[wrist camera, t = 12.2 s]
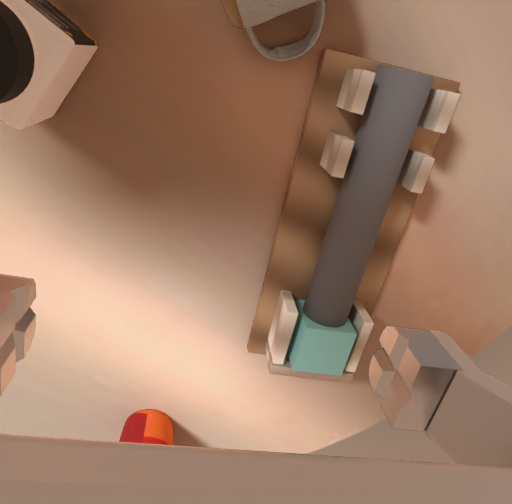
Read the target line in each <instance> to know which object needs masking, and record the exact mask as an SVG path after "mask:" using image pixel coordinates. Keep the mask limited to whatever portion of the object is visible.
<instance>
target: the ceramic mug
mask: <svg viewBox="0 0 512 504" xmlns="http://www.w3.org/2000/svg"><path fill="white" fill-rule="evenodd" d="M315 1H316V11H315V17H314V22H313V25H312V27H311V30H310V31H309V33H308V34H307V36H306V37H304V38H303V39H302V40H300V41H298V42H295V43H292V44H289V45H286V46H276V47H275V48H274V49H269V48H267V47H265V46H264V45H262V44H261V43H260V42H259V41H258V39H257V38H256V37H255V34H254V31H253V26H256V25H259V24H261V23H264V22H266V21H269V20H271V19H273V18H275V17H277V16H280V15H282V14H284V13H287V12H290V11H292V10H295V9H298V8H301V7H303V6H306V5H308V4H311V3H313V2H315ZM221 3H222V5H223V7H224V10H225V13H226V15H227V17H228V19H229V22H230V23H231V25H233V26H235V27H237V28H246V31H247V33H248V36H249V38H250V39H251V41H252V43H253V45H254V46H255V48H256V49H257V50H258V51H259V52H260V53H261V54H262V55H263V56H264V57H266V58H268V59H271V60H274V61H289V60H292V59H295V58H298V57H300V56H302V55H304V54H305V53H307V52H308V51H309V50H310V49H311V48H312V47H313V46H314V44H315V43H316V41H317V39H318V38H319V36H320V33H321V30H322V28H323V23H324V18H325V0H221Z"/></svg>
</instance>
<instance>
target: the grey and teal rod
mask: <svg viewBox="0 0 512 504" xmlns="http://www.w3.org/2000/svg"><path fill="white" fill-rule="evenodd" d="M375 73H376V74H375V77H374V81H373V84H372V87H371V90H370V94H369V97H368V100H367V103H366V106H365V110H364V113H363V115H362V118H361V121H360V124H359V127H358V131H357V134H356V137H355V140H354V141H355V142H354V145H353V149H352V152H351V155H350V158H349V162H348V165H347V168H346V171H345V175H344V178H343V179H342V182H341V186H340V189H339V192H338V195H337V199H336V202H335V205H334V208H333V211H332V215H331V218H330V221H329V224H328V228H327V231H326V234H325V237H324V241H323V244H322V247H321V250H320V254H319V257H318V260H317V263H316V267H315V270H314V273H313V276H312V279H311V283H310V286H309V289H308V292H307V296H306V299H305V300H298V299H296V300H295V305H296V308H297V311H298V317H297V320H296V323H295V326H294V330H293V333H292V336H291V339H290V343H289V346H288V349H287V352H288V356H289V359H290V363H291V367H292V370H293V371H300V372H309V373H319V374H328V375H338V376H341V375H342V373H343V370H344V367H345V365H346V362H347V359H348V357H349V354H350V352H351V349H352V346H353V344H354V341H355V338H356V336H357V333H356V331H355V329H354V328H353V326H352V324H351V322H350V320H349V318H348V315H349V313H350V310H351V307H352V304H353V302H354V299H355V296H356V293H357V291H358V288H359V285H360V282H361V280H362V277H363V274H364V271H365V269H366V266H367V263H368V260H369V258H370V255H371V252H372V249H373V247H374V244H375V241H376V238H377V236H378V233H379V230H380V227H381V224H382V222H383V219H384V216H385V213H386V211H387V208H388V205H389V202H390V200H391V197H392V194H393V191H394V189H395V186H396V183H397V180H398V178H399V175H400V172H401V169H402V167H403V164H404V161H405V158H406V156H407V153H408V150H409V147H410V145H411V142H412V139H413V136H414V134H415V131H416V128H417V125H418V122H419V120H420V117H421V114H422V111H423V109H424V106H425V103H426V100H427V98H428V95H429V92H430V89H431V87H432V84H433V81H434V77H432V76H429V75H426V74H422V73H418V72H414V71H410V70H406V69H401V68H396V67H391V66H386V65H378V66H377V69H376V72H375Z"/></svg>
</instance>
